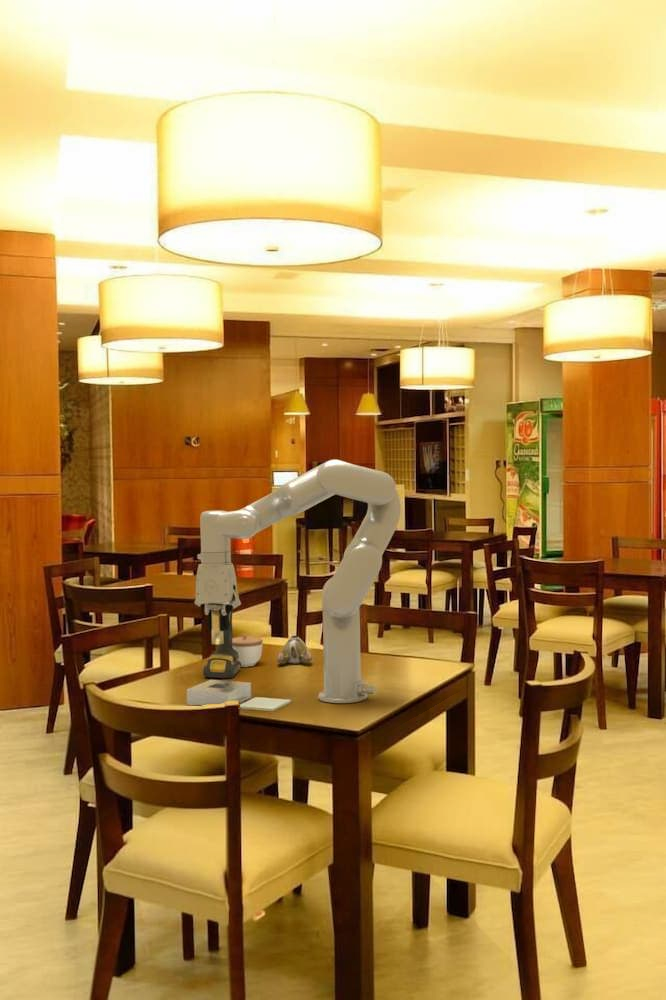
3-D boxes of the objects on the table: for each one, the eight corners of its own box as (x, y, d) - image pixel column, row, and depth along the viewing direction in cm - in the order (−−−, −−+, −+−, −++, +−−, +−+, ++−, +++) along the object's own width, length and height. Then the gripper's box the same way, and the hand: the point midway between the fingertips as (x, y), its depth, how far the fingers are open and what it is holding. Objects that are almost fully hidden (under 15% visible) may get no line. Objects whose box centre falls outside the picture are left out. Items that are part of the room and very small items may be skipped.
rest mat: (291, 702, 249) (290, 699, 249) (273, 711, 240) (273, 708, 240) (256, 699, 253) (256, 697, 253) (237, 708, 244) (237, 705, 244)
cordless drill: (195, 684, 273) (193, 594, 272) (214, 669, 293) (212, 586, 292) (227, 684, 272) (225, 594, 271) (243, 669, 291) (241, 586, 291)
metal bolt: (221, 645, 247) (220, 605, 247) (204, 644, 249) (203, 604, 249) (231, 642, 252) (230, 602, 252) (214, 641, 254) (213, 602, 254)
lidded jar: (265, 661, 303) (264, 631, 303) (260, 668, 292) (259, 637, 292) (231, 661, 304) (230, 631, 304) (224, 668, 293) (224, 637, 293)
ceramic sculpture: (311, 629, 307) (311, 641, 292) (312, 657, 308) (312, 669, 293) (278, 631, 307) (275, 642, 292) (279, 658, 308) (276, 670, 293)
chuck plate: (251, 697, 255) (250, 682, 255) (228, 708, 244) (228, 692, 243) (210, 694, 259) (210, 679, 259) (187, 705, 248) (186, 689, 248)
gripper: (180, 559, 250) (183, 631, 251) (237, 560, 244) (239, 633, 244) (196, 557, 257) (198, 626, 258) (251, 557, 251) (253, 629, 251)
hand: (218, 629), depth 251 cm, fingers closed on metal bolt, 3 cm apart
